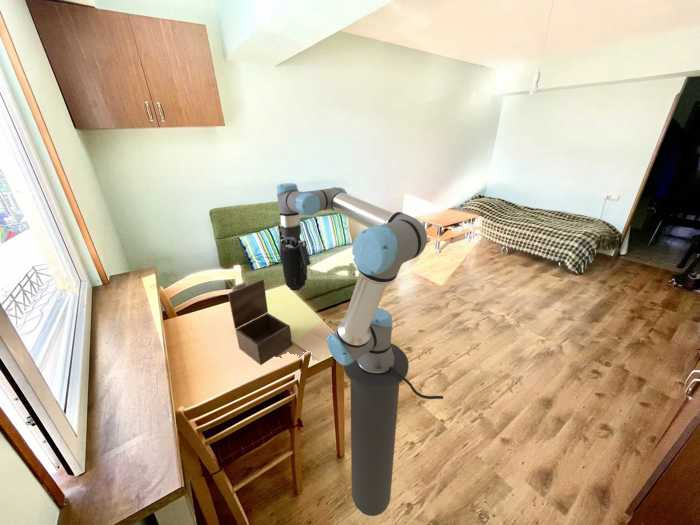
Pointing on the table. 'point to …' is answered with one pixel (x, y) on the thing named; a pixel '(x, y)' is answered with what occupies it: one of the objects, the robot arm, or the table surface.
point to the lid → (247, 302)
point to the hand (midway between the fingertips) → (295, 276)
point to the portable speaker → (291, 266)
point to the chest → (264, 338)
